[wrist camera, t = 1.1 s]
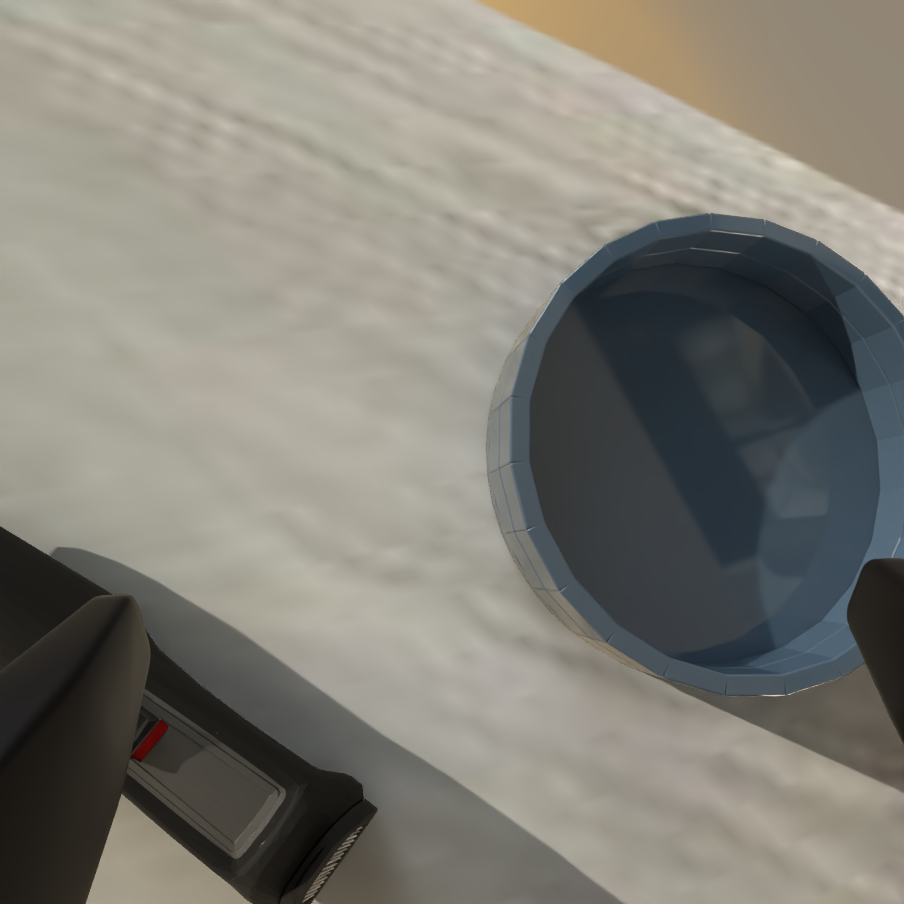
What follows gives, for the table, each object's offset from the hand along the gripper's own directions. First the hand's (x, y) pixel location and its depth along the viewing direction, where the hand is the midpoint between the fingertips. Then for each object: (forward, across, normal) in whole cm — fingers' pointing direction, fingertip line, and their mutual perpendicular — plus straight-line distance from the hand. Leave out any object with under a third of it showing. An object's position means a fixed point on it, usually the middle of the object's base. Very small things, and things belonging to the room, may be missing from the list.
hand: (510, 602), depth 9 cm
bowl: (+13, -8, +6) cm, 17 cm away
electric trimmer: (+8, +9, +10) cm, 15 cm away
